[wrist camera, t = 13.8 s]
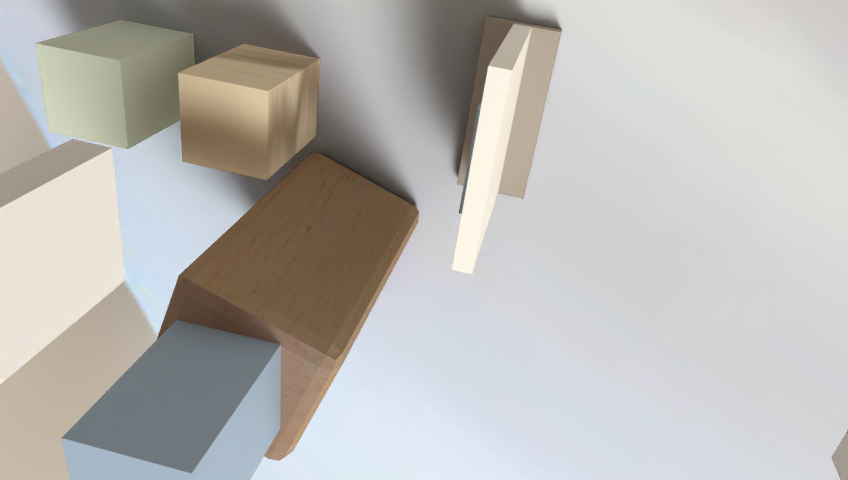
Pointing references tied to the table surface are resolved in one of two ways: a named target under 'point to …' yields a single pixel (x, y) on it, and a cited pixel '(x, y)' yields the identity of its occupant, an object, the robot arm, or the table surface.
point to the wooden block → (300, 278)
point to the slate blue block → (183, 411)
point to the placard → (501, 124)
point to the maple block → (248, 109)
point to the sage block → (114, 81)
